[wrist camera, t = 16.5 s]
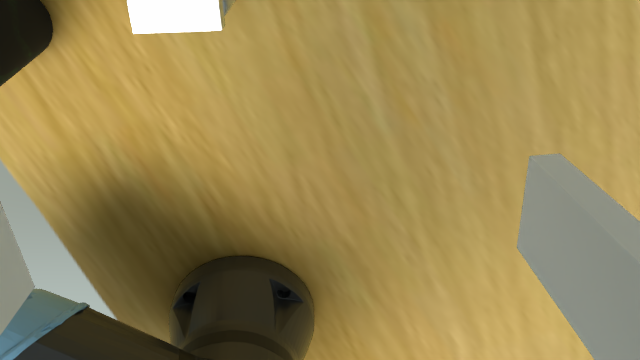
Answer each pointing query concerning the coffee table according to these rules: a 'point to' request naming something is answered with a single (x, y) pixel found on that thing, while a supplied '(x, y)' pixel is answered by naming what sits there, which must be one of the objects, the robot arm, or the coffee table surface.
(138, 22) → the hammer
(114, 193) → the coffee table surface
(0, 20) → the cup
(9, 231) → the robot arm
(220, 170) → the coffee table surface
